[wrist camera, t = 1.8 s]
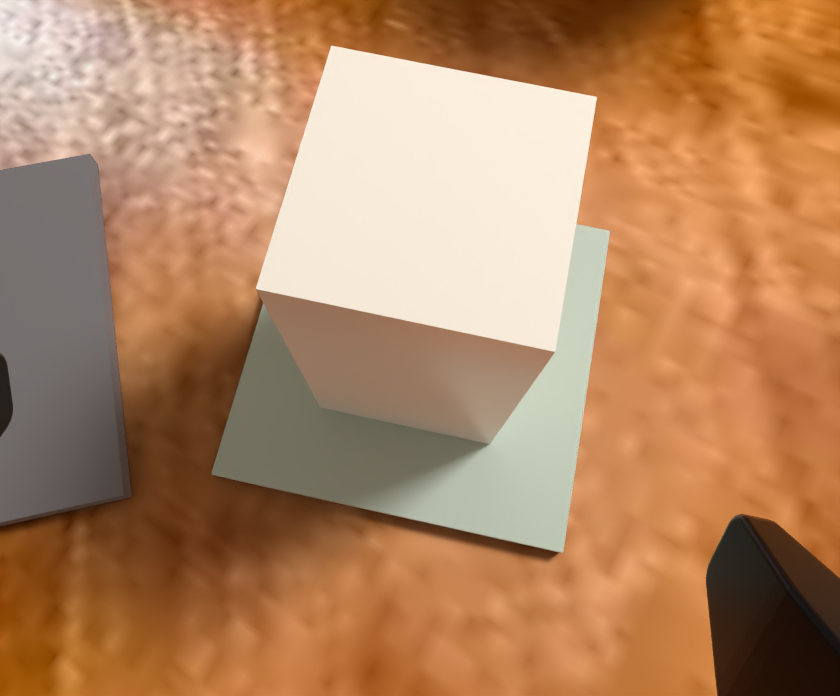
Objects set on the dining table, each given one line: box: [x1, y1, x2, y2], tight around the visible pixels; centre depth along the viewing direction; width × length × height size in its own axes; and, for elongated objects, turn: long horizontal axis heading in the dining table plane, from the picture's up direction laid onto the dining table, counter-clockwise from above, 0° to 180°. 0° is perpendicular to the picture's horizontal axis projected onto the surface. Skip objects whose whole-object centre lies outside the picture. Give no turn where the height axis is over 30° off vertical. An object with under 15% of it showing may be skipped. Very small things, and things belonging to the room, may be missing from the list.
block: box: [256, 46, 597, 444], centre depth 16 cm, size 5×5×9 cm
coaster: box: [211, 224, 610, 553], centre depth 19 cm, size 10×10×4 cm
